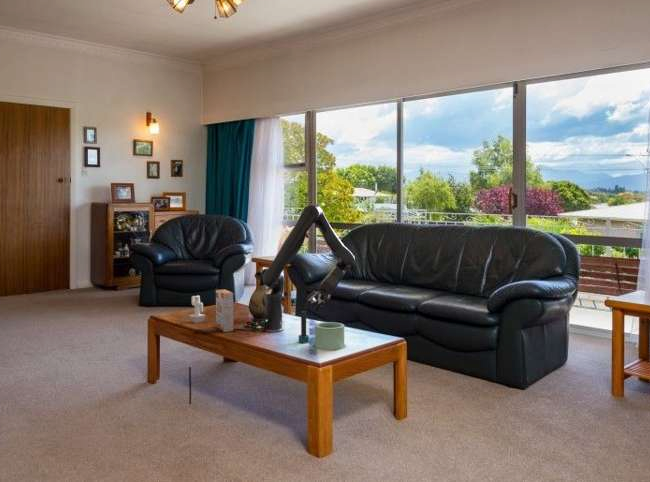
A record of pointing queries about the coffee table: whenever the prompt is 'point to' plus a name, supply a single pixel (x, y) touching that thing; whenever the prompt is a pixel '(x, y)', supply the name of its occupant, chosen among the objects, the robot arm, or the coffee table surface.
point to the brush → (303, 329)
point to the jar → (329, 335)
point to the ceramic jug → (258, 298)
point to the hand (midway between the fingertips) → (310, 309)
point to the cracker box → (224, 310)
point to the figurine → (197, 310)
